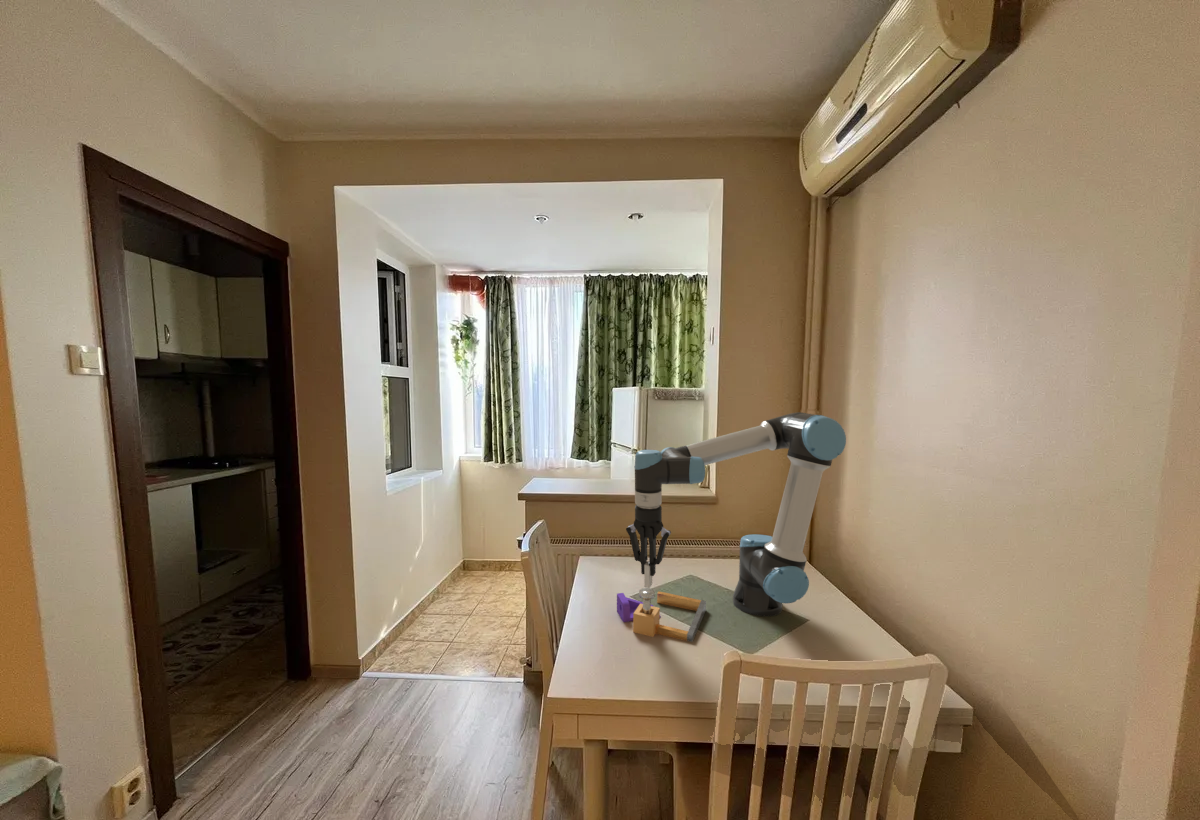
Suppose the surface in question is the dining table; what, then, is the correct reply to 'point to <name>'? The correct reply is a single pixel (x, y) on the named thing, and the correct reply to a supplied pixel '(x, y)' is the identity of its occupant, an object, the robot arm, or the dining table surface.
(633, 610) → the bracket
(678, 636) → the u-shaped frame
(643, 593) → the round-headed metal pin
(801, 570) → the robot arm
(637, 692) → the dining table surface
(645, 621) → the sleeve
